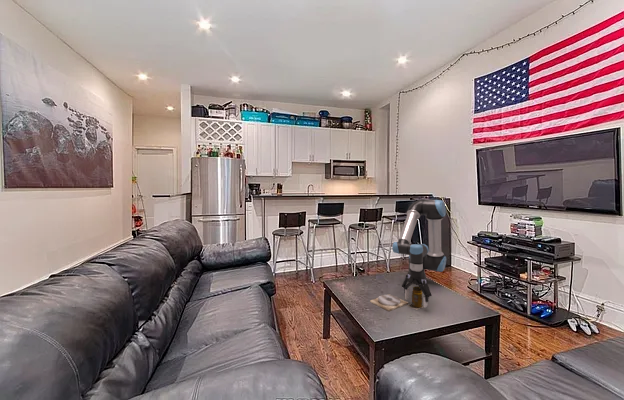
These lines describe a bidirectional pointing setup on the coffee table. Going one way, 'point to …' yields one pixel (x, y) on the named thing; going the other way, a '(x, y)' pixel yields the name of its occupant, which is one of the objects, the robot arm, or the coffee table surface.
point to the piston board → (388, 302)
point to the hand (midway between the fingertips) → (415, 302)
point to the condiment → (416, 298)
